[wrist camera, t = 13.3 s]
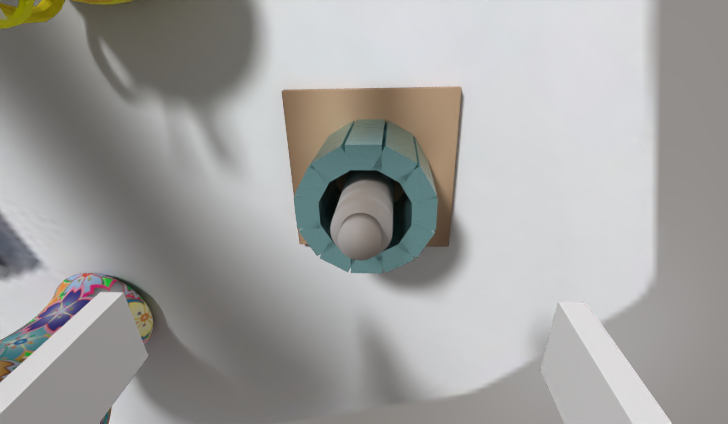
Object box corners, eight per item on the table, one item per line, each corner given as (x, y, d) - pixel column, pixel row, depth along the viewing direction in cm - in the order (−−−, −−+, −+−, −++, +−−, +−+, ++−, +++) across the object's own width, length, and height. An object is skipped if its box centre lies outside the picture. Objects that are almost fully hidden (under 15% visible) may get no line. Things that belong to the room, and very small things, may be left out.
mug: (38, 275, 32) (-114, 377, 23) (126, 252, 30) (2, 353, 21) (115, 372, 37) (16, 491, 27) (196, 358, 35) (120, 479, 25)
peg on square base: (301, 239, 28) (259, 329, 20) (284, 89, 24) (219, 121, 15) (447, 242, 27) (470, 337, 19) (459, 86, 23) (498, 118, 14)
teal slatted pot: (321, 224, 27) (302, 271, 22) (312, 119, 24) (287, 145, 18) (425, 225, 26) (432, 274, 21) (430, 118, 23) (441, 144, 18)
